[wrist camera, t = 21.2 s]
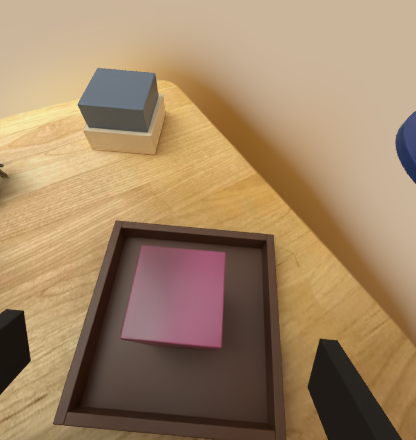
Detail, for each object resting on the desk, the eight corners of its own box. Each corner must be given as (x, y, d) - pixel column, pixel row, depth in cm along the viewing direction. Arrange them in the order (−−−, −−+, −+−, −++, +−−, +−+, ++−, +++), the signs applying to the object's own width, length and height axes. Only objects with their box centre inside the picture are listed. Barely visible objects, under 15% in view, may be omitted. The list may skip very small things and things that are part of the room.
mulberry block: (215, 288, 22) (226, 251, 14) (211, 351, 19) (222, 348, 12) (161, 283, 22) (141, 244, 14) (150, 345, 19) (119, 339, 12)
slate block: (158, 96, 31) (155, 72, 29) (147, 132, 28) (142, 110, 25) (105, 91, 31) (97, 67, 29) (88, 127, 28) (77, 104, 25)
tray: (266, 245, 25) (273, 234, 23) (275, 434, 17) (287, 446, 15) (122, 232, 25) (115, 220, 23) (70, 415, 18) (52, 424, 15)
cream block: (165, 114, 34) (163, 94, 32) (155, 155, 30) (151, 136, 28) (110, 109, 34) (102, 88, 32) (92, 149, 30) (82, 130, 28)
